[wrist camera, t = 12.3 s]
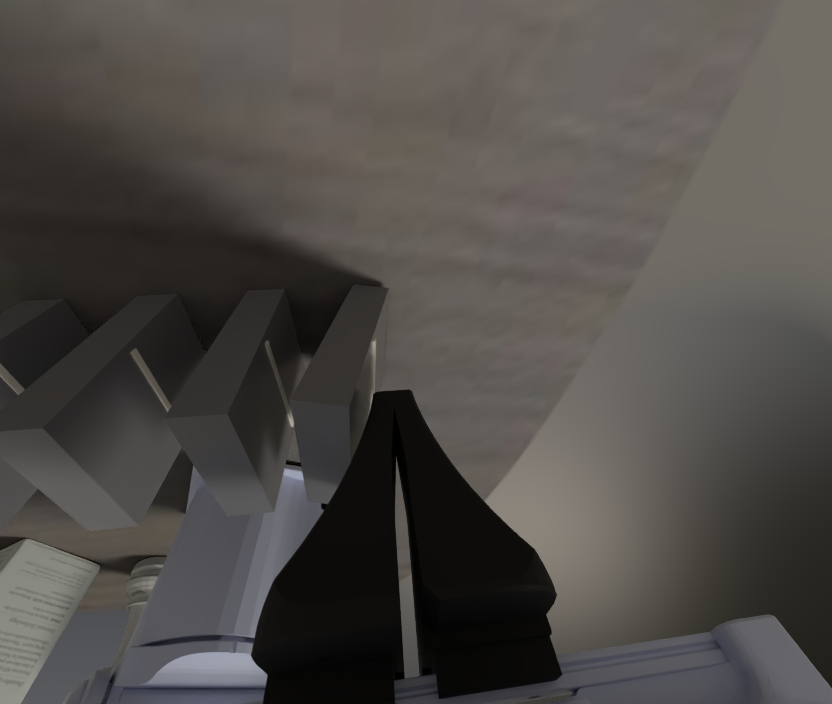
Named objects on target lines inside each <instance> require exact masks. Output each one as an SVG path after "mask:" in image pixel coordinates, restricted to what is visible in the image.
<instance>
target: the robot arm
mask: <svg viewBox="0 0 832 704" xmlns="http://www.w3.org/2000/svg"><path fill="white" fill-rule="evenodd" d="M396 457H397V462H398V468H399V474H400V480H401V486H402V492H403V498H404V503H405V509H406V516H407V524H408V535H409V547H410V559H411V571H412V583H413V596H414V608H415V621H416V633H417V645H418V646H417V647H418V659H419V673H420V676H419V677H412V678H406V679H405V678H404V663H403V644H402V626H401V611H400V594H399V578H398V562H397V546H396V530H395V485H396ZM556 596H557V594H556V592H555V588H554V585H553V583H552V580H551V578H550V576H549V574H548V572H547V570H546V568H545V566H544V564H543V563H542V561H541V559H540V558H539V556H538V554H537V552H536V551H535V549H534V548H533V547H531V546H530V545H529V544H528V543H527V542H526V541H525V540H523V539H522V538H521V537H520V536H519V535H518V534H517V533H516V532H514V531H513V530H512V529H511V528H510V527H509V526H508V525H507V524H506V523H505V522H504V521H503V520H502V519H501V518H500V517H499V516H498V515H497V514H496V513H495V512H493V510H492V509H491V508H490V507H489V506H488V505H487V504H486V503H485V502H484V501H483V500H482V499H481V497H480V496H479V495H478V494H477V493H476V492H475V491H474V490H473V489H472V488H471V487H470V485H469V484H468V483H467V482H466V481H465V479H464V478H463V477H462V476H461V474H460V473H459V472H458V471H457V469H456V468H455V467H454V465H453V464H452V463H451V461H450V460H449V459H448V457H447V456H446V454H445V453H444V451H443V450H442V448H441V447H440V445H439V444H438V442H437V441H436V439H435V438H434V436H433V434H432V433H431V431H430V429H429V427H428V426H427V424H426V422H425V420H424V418H423V416H422V414H421V412H420V410H419V408H418V406H417V404H416V401H415V399H414V396H413V393H412V391H411V390H396V391H382V392H375V393H374V394H373V398H372V404H371V409H370V412H369V416H368V419H367V423H366V425H365V428H364V431H363V434H362V437H361V439H360V442H359V444H358V447H357V449H356V451H355V453H354V456H353V458H352V460H351V462H350V465H349V467H348V469H347V471H346V473H345V475H344V477H343V478H342V480H341V482H340V484H339V486H338V488H337V489H336V491H335V493H334V495H333V496H332V498H331V500H330V501H329V503H328V504H324V503H316V502H308V501H307V496H306V490H305V485H304V479H303V473H302V467H300V466H294V465H288V464H285V468H284V473H283V477H282V481H281V485H280V490H279V494H278V498H277V502H276V507H275V511H274V512H268V513H259V514H249V515H239V516H229V517H227V516H226V514H225V513H224V511H223V510H222V508H221V507H220V505H219V504H218V502H217V500H216V499H215V497H214V496H213V494H212V493H211V491H210V490H209V488H208V487H207V485H206V484H205V482H204V480H203V479H202V477H201V476H200V474H199V473H198V471H197V470H196V468H195V467H194V465H193V470H192V477H191V483H190V490H189V496H188V503H187V509H186V515H185V517H184V520H183V522H182V524H181V526H180V529H179V531H178V533H177V535H176V538H175V540H174V542H173V544H172V547H171V549H170V551H169V553H168V555H167V558H166V560H165V562H164V564H163V567H162V569H161V571H160V573H159V576H158V578H157V580H156V582H155V585H154V587H153V589H152V591H151V594H150V596H149V598H148V600H147V603H146V605H145V607H144V609H143V611H142V614H141V616H140V618H139V620H138V623H137V625H136V627H135V629H134V632H133V634H132V636H131V638H130V641H129V643H128V645H127V647H126V650H125V652H124V654H123V656H122V657H121V659H120V660H119V661H118V662H117V664H116V665H115V666H114V667H113V669H112V670H97V671H95V672H94V673H92V674H91V676H90V677H89V678H88V680H85V681H83V682H82V683H80V684H79V685H78V686H76V687H75V688H74V689H72V690H71V691H70V692H69V694H68V696H67V697H66V699H65V701H64V702H63V704H512V703H518V702H525V701H531V700H537V699H543V698H549V697H555V696H561V695H567V694H571V696H570V697H569V698H565V699H561V700H557V701H554V702H549V703H546V704H832V688H831V687H830V686H829V685H828V683H827V682H826V681H825V680H824V678H823V677H822V676H821V675H820V673H819V672H818V671H817V670H816V668H815V667H814V666H813V664H812V663H811V662H810V661H809V660H808V658H807V657H806V656H805V654H804V653H803V652H802V651H801V649H800V648H799V647H798V646H797V644H796V643H795V642H794V640H793V639H792V638H791V637H790V635H789V634H788V633H787V632H786V630H785V629H784V628H783V627H782V625H781V624H780V623H779V621H778V620H777V619H776V618H775V617H774V616H772V615H763V616H757V617H750V618H743V619H737V620H732V621H728V622H725V623H723V624H721V625H719V626H717V627H715V628H714V629H713V630H712V632H707V633H701V634H694V635H688V636H681V637H675V638H668V639H661V640H655V641H648V642H642V643H636V644H629V645H622V646H615V647H609V648H602V649H596V650H589V651H583V652H577V653H570V654H563V655H556V654H555V651H554V648H553V645H552V642H551V639H550V636H549V635H551V633H552V632H551V628H550V625H549V622H548V619H547V616H546V614H547V612H548V611H549V610H550V608H551V607H552V605H553V604H554V602H555V599H556Z"/></svg>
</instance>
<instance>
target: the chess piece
mask: <svg viewBox="0 0 832 704" xmlns="http://www.w3.org/2000/svg"><path fill="white" fill-rule="evenodd" d="M166 558H167V557H151V558H146V559H143V560H141V561H139V562H138V563H137V564H136V565H135V566H134V568H133V570H132V572H131V578H130V579H129V580H128V582H127V584H126V592H127V594H128V596H129V597H130V602H129V604H128V605H127V608H126V610H127V611H128V612H130V616H129V620H128V624H127V628H126V631H125V635H124V638H123V640H122V643H121V646H120V648H119V651H118V653H117V655H116V658H115V660H114V663H113V665H112V667H109V668H104V669H102V670H112V669H113V667H114V666H115V665H116V664H117V662H118V661H119V660H120V659H121V657H122V656H123V654H124V652H125V650H126V647H127V645H128V643H129V641H130V638H131V636H132V634H133V632H134V629H135V627H136V625H137V623H138V620H139V618H140V616H141V614H142V611H143V609H144V607H145V605H146V603H147V600H148V598H149V596H150V594H151V591H152V589H153V587H154V585H155V582H156V580H157V578H158V576H159V573H160V571H161V569H162V567H163V564H164V562H165V560H166Z"/></svg>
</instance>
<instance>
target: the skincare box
mask: <svg viewBox="0 0 832 704" xmlns="http://www.w3.org/2000/svg"><path fill="white" fill-rule="evenodd" d="M100 568H101V567H100V565H99V564H96V563H94V562H91V561H89V560H86V559H83V558H80V557H77V556H75V555H72V554H69V553H66V552H64V551H61V550H59V549H56V548H54V547H51V546H48V545H46V544H43V543H40V542H37V541H34V540H31V539H23V540H21V541H19V542H17V543H15V544H13V545H11V546H9V547H7V548H5V549H2V550H0V704H21V702H22V700H23V698H24V697H25V695H26V693H27V692H28V690H29V688H30V686H31V685H32V683H33V681H34V680H35V678H36V676H37V675H38V673H39V671H40V670H41V668H42V666H43V664H44V663H45V661H46V660H47V657H48V656H49V654H50V653H51V651H52V649H53V648H54V646H55V644H56V642H57V641H58V639H59V638H60V636H61V634H62V633H63V631H64V629H65V627H66V626H67V624H68V623H69V621H70V619H71V617H72V616H73V614H74V612H75V611H76V609H77V607H78V606H79V604H80V602H81V601H82V599H83V597H84V596H85V594H86V592H87V590H88V589H89V587H90V585H91V584H92V582H93V580H94V579H95V577H96V575H97V573H98V572H99V570H100Z"/></svg>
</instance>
